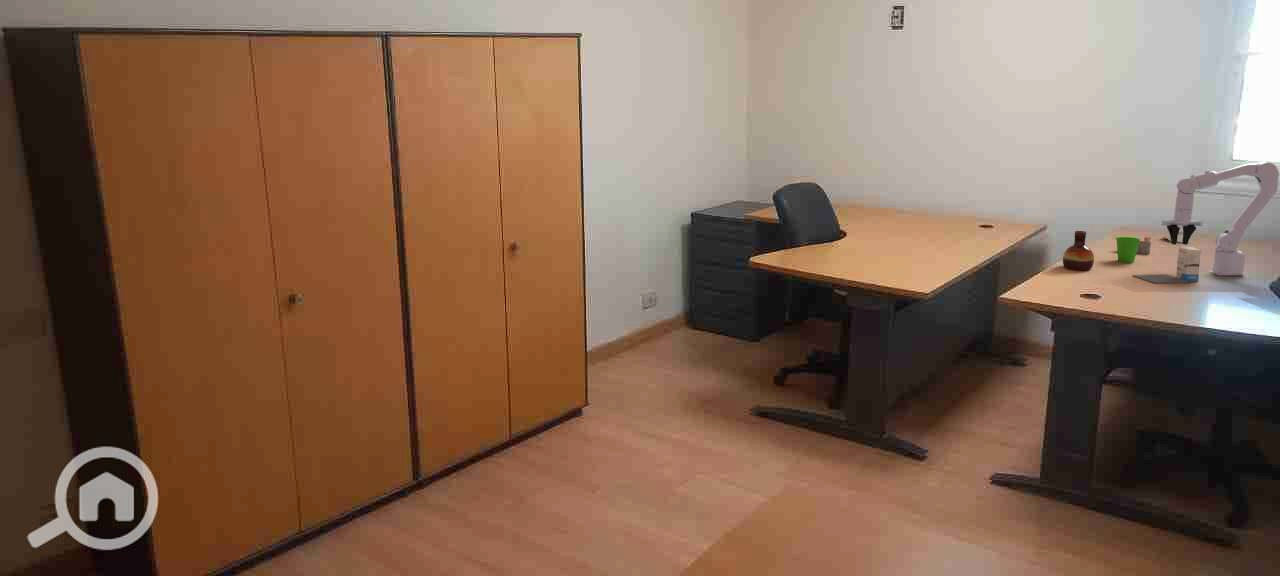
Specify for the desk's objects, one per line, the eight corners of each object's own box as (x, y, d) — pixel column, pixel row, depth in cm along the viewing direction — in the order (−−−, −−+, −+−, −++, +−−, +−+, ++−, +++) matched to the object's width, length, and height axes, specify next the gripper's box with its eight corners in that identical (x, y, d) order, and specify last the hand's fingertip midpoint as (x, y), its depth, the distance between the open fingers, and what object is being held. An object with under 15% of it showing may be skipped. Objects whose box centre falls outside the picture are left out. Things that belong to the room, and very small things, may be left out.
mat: (1167, 275, 343) (1167, 274, 343) (1190, 283, 329) (1190, 282, 329) (1132, 276, 344) (1132, 275, 344) (1154, 283, 329) (1154, 282, 329)
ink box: (1198, 281, 331) (1202, 249, 329) (1183, 281, 332) (1187, 249, 330) (1189, 277, 340) (1193, 246, 337) (1175, 277, 341) (1178, 246, 338)
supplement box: (1172, 249, 405) (1175, 221, 403) (1165, 247, 413) (1168, 219, 410) (1190, 250, 404) (1193, 221, 402) (1183, 247, 411) (1186, 219, 409)
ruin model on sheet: (1149, 259, 383) (1151, 236, 381) (1148, 260, 381) (1151, 237, 379) (1119, 257, 389) (1121, 234, 387) (1118, 258, 387) (1120, 235, 385)
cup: (1114, 266, 365) (1116, 239, 363) (1112, 262, 373) (1114, 236, 371) (1139, 267, 362) (1142, 240, 360) (1136, 263, 370) (1139, 237, 368)
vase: (1096, 270, 356) (1100, 231, 353) (1087, 274, 348) (1091, 234, 345) (1067, 267, 364) (1070, 229, 361) (1057, 271, 356) (1060, 231, 353)
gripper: (1196, 208, 353) (1192, 242, 356) (1159, 207, 353) (1154, 242, 356) (1207, 210, 346) (1202, 245, 349) (1169, 209, 346) (1164, 245, 349)
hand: (1179, 244), depth 352 cm, fingers open, 4 cm apart
